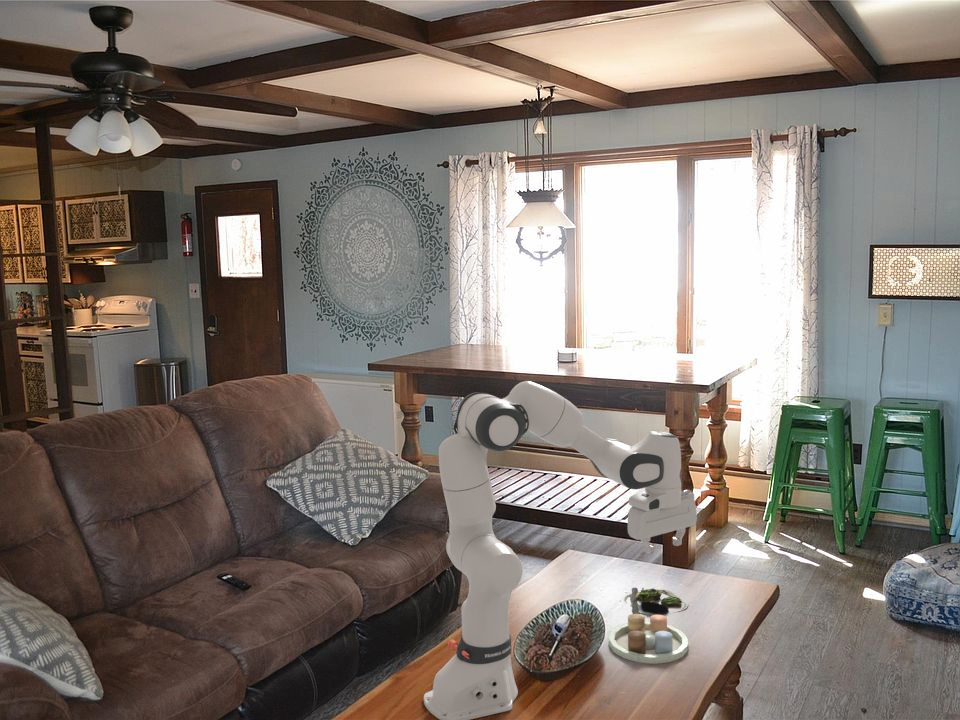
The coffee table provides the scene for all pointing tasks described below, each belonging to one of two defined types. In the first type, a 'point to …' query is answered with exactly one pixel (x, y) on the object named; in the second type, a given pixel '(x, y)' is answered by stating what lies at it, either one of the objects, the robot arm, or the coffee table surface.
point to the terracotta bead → (658, 623)
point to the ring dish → (648, 645)
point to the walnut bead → (637, 642)
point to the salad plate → (654, 601)
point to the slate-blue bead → (663, 642)
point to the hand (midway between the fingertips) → (663, 549)
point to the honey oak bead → (636, 622)
